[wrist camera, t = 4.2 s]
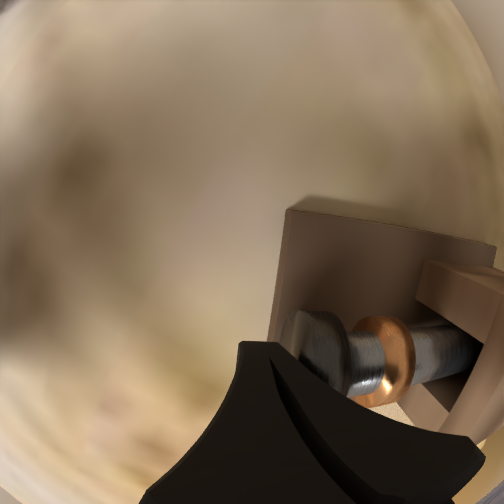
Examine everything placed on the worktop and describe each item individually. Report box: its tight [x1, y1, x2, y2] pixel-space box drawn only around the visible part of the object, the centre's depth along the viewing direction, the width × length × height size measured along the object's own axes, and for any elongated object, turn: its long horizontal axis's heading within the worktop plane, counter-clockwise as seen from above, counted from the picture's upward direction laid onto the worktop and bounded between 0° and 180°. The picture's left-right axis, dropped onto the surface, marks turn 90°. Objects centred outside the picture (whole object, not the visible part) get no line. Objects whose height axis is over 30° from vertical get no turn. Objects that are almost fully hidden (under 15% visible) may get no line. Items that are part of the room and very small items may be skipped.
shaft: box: [279, 310, 484, 408], centre depth 10 cm, size 12×4×4 cm, turn 83°
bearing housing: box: [267, 209, 504, 445], centre depth 10 cm, size 14×10×8 cm
